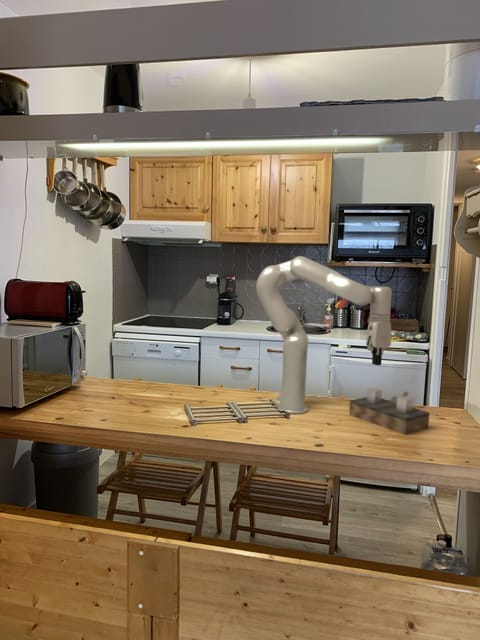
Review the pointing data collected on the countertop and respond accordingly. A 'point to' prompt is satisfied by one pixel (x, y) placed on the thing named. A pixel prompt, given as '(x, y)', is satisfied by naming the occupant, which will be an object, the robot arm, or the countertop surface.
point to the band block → (389, 416)
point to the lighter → (394, 399)
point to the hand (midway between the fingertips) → (376, 364)
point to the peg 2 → (404, 404)
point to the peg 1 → (374, 395)
